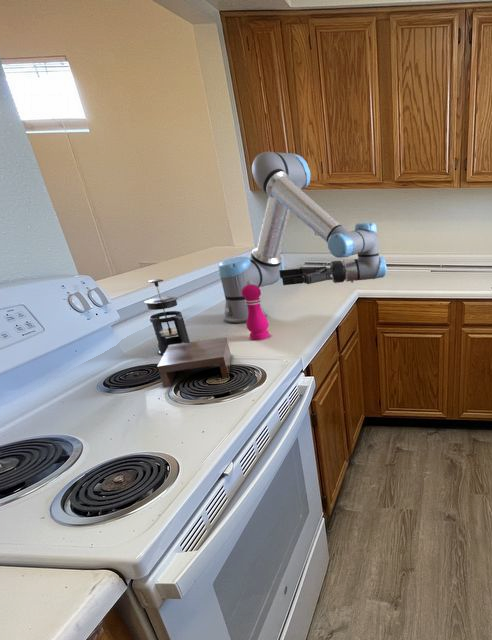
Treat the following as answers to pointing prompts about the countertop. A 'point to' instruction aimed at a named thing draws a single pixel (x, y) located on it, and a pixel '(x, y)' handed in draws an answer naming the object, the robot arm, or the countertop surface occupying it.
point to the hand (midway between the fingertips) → (281, 277)
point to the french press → (156, 321)
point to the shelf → (194, 358)
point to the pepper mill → (255, 312)
